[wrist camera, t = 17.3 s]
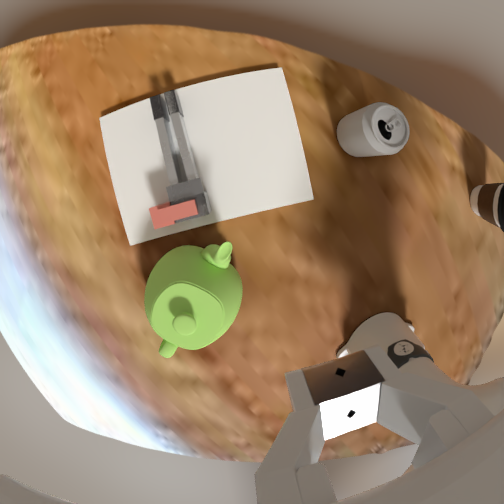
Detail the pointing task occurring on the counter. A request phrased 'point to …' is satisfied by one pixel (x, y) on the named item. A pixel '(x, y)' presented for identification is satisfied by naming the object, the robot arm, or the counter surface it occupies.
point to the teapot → (192, 296)
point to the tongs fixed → (177, 165)
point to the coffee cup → (489, 203)
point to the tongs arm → (181, 134)
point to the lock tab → (171, 213)
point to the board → (211, 152)
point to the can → (373, 131)
